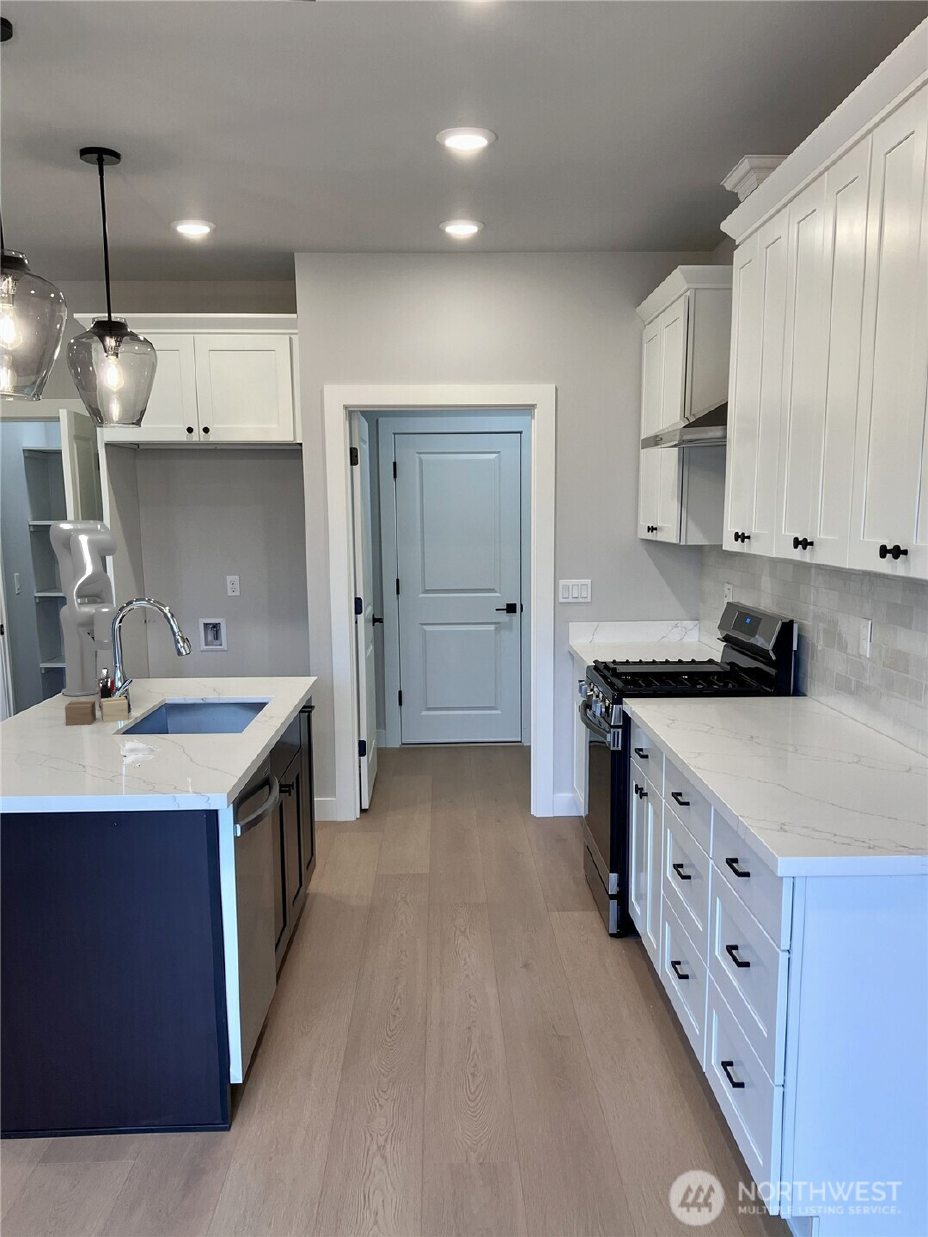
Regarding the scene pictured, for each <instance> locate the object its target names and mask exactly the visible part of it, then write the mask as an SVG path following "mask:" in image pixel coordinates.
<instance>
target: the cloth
mask: <svg viewBox="0 0 928 1237" xmlns="http://www.w3.org/2000/svg"><path fill="white" fill-rule="evenodd" d="M146 745H147V744H145V743H142V742H140V741H138V740H136V739H133V741H127V742H125V745H124V746H123V748H122V749H121V751H120V755H121V754H122V755H123V757H124V756H125V758H124V760H123V763H122V765H123V764H133V763H135V762H138V761H142V760H150V759H152V758H153V757H155V756H153V755H142V754H148V752H154V751H159V750H161V749H159V748H156V749H155V747H154V746H152V745H149V746H146ZM153 747H154V748H153ZM135 754H138V755H135ZM122 755H121V756H122ZM140 764H141V763H139V764H136V766H138V765H140Z"/></svg>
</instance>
